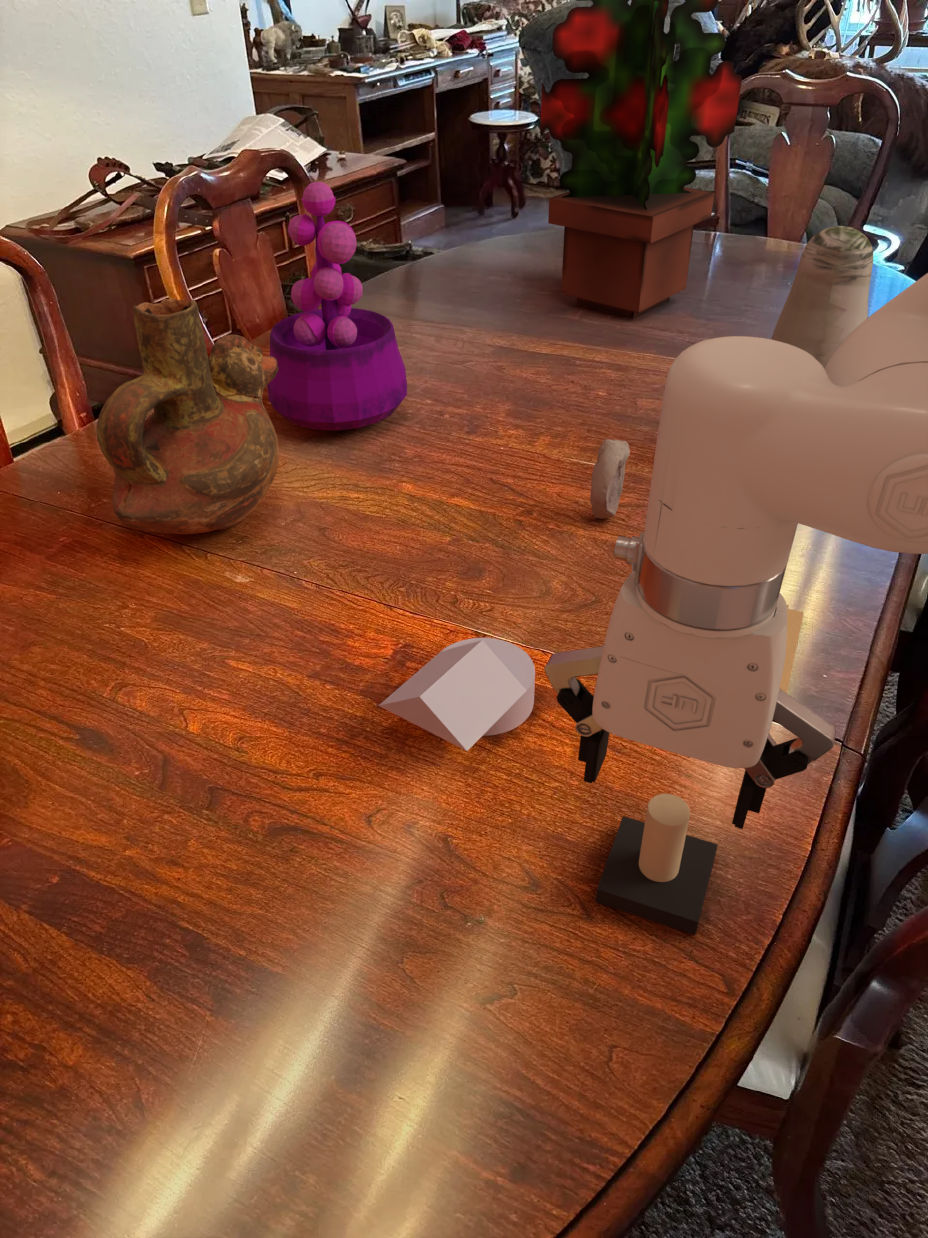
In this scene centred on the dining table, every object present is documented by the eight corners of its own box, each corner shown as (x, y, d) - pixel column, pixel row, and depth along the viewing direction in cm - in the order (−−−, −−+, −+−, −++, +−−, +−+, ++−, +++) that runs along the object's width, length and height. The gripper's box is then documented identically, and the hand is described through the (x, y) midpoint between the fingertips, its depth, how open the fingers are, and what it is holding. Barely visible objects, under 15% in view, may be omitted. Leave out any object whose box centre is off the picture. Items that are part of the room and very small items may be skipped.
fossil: (606, 535, 102) (614, 454, 96) (578, 527, 103) (583, 446, 97) (627, 512, 106) (636, 432, 100) (600, 504, 107) (606, 425, 101)
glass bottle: (837, 491, 109) (903, 244, 92) (748, 484, 110) (796, 240, 93) (828, 453, 116) (887, 218, 99) (745, 446, 118) (789, 215, 101)
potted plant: (534, 305, 161) (544, -4, 134) (604, 274, 175) (626, -13, 147) (644, 333, 150) (679, 2, 123) (709, 298, 163) (754, -9, 136)
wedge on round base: (467, 780, 73) (553, 691, 82) (466, 719, 69) (556, 631, 78) (381, 734, 78) (470, 654, 86) (375, 674, 74) (469, 595, 82)
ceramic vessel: (341, 481, 113) (319, 272, 97) (198, 591, 95) (143, 356, 79) (232, 452, 119) (195, 251, 104) (78, 550, 101) (6, 325, 86)
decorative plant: (433, 403, 130) (424, 172, 112) (363, 459, 117) (340, 208, 99) (322, 380, 137) (297, 159, 119) (244, 431, 124) (202, 191, 106)
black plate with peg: (714, 857, 67) (731, 787, 63) (695, 935, 62) (711, 865, 57) (621, 829, 69) (630, 759, 65) (595, 902, 64) (603, 832, 60)
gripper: (534, 576, 50) (521, 791, 60) (874, 656, 44) (795, 876, 55) (575, 509, 55) (557, 717, 66) (882, 573, 50) (809, 788, 60)
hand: (666, 789), depth 60 cm, fingers open, 9 cm apart
